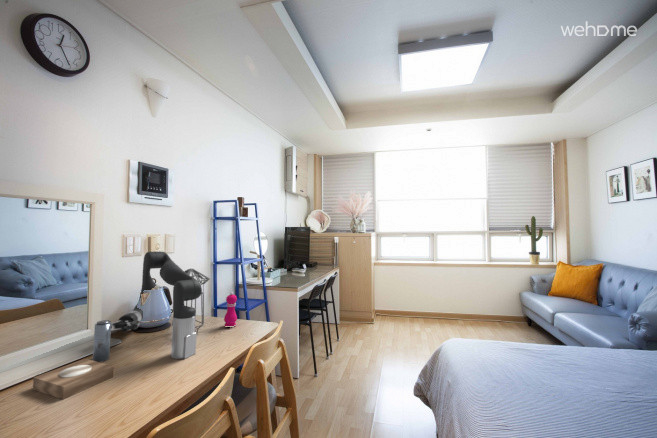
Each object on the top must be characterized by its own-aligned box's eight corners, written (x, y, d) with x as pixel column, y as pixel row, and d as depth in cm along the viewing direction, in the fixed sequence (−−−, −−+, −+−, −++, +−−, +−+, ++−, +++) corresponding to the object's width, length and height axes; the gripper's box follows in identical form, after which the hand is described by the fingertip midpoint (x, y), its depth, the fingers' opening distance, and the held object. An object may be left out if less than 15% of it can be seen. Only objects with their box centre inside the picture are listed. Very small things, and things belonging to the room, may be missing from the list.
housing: (112, 357, 125) (114, 320, 126) (98, 363, 120) (100, 324, 121) (103, 355, 127) (105, 319, 128) (89, 360, 122) (91, 322, 123)
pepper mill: (224, 329, 166) (226, 293, 166) (222, 325, 172) (224, 291, 173) (237, 327, 169) (239, 292, 170) (235, 323, 175) (237, 290, 176)
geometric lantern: (193, 326, 168) (196, 266, 169) (208, 333, 158) (212, 268, 160) (165, 334, 155) (169, 268, 156) (180, 341, 146) (184, 271, 147)
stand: (113, 376, 110) (113, 365, 110) (63, 399, 95) (64, 386, 95) (84, 368, 115) (85, 357, 115) (32, 389, 100) (33, 376, 100)
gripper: (115, 312, 147) (95, 323, 131) (145, 312, 150) (131, 322, 134) (114, 327, 147) (94, 339, 131) (145, 327, 150) (129, 338, 134)
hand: (113, 330), depth 132 cm, fingers open, 8 cm apart
